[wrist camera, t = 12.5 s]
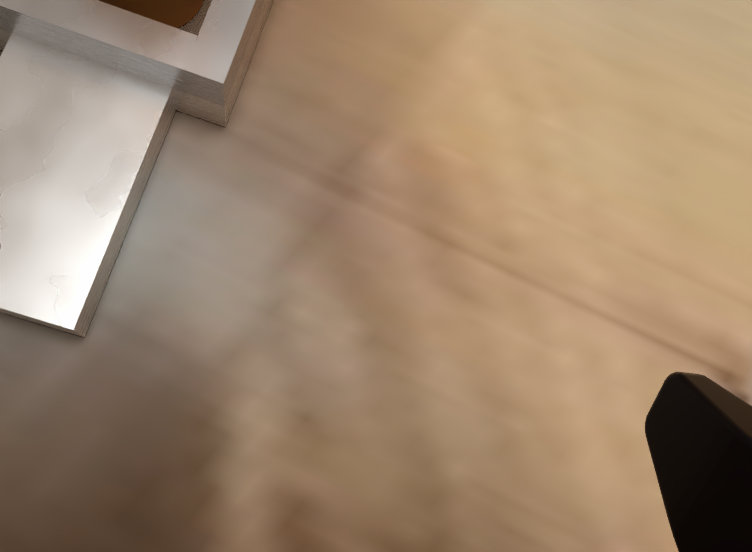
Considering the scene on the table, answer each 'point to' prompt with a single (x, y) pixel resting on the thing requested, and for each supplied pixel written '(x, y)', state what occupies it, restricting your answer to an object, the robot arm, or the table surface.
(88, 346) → the table surface
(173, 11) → the pin
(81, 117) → the grey peg socket block
